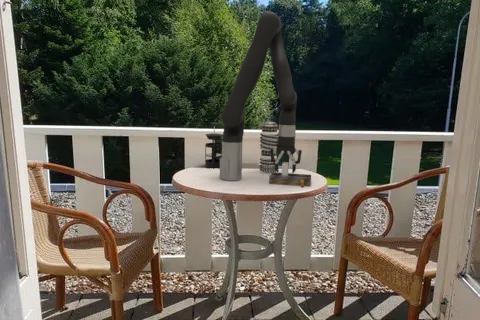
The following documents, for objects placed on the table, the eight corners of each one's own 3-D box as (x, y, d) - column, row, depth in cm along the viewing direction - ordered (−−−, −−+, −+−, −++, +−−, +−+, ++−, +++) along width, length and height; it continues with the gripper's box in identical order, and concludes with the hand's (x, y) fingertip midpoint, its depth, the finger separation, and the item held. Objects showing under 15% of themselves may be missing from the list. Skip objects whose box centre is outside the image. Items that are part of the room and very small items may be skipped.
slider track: (268, 184, 183) (268, 176, 182) (271, 179, 193) (271, 171, 193) (310, 187, 179) (310, 179, 179) (310, 181, 190) (311, 174, 189)
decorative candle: (276, 175, 202) (279, 123, 197) (257, 174, 203) (259, 122, 198) (278, 171, 210) (280, 121, 206) (259, 170, 212) (261, 120, 207)
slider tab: (278, 179, 186) (279, 163, 184) (279, 176, 190) (280, 161, 189) (290, 179, 185) (290, 164, 184) (290, 177, 189) (291, 162, 188)
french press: (202, 168, 213) (203, 123, 208) (204, 164, 222) (204, 121, 218) (225, 169, 213) (226, 123, 208) (226, 165, 222) (227, 122, 218)
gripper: (303, 134, 186) (301, 171, 189) (271, 133, 189) (270, 169, 192) (302, 136, 179) (300, 175, 182) (269, 135, 181) (268, 172, 185)
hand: (285, 172), depth 187 cm, fingers open, 6 cm apart
